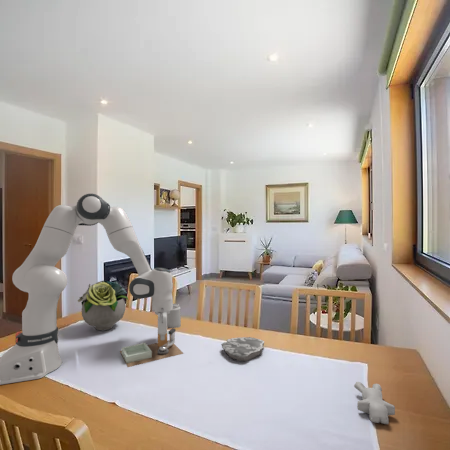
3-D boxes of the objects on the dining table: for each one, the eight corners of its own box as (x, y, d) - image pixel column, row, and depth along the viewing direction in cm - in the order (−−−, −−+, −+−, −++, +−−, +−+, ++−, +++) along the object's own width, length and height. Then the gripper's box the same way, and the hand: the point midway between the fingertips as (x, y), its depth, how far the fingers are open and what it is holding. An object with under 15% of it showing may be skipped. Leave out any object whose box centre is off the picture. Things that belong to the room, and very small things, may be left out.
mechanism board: (127, 371, 108) (127, 364, 108) (119, 354, 122) (119, 348, 122) (183, 357, 119) (183, 350, 119) (170, 343, 133) (170, 337, 133)
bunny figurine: (361, 409, 78) (351, 375, 93) (361, 427, 79) (350, 390, 94) (400, 414, 76) (383, 378, 91) (400, 432, 77) (383, 393, 91)
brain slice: (235, 340, 136) (235, 333, 136) (269, 348, 128) (269, 341, 128) (212, 357, 119) (212, 349, 119) (250, 367, 111) (249, 359, 111)
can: (173, 331, 147) (172, 307, 147) (163, 328, 152) (162, 305, 152) (183, 327, 153) (183, 304, 153) (173, 324, 158) (173, 302, 158)
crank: (164, 352, 118) (164, 338, 118) (157, 351, 119) (157, 337, 119) (177, 341, 128) (177, 328, 128) (171, 340, 129) (171, 328, 129)
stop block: (167, 345, 126) (167, 329, 126) (157, 346, 125) (157, 330, 125) (167, 342, 130) (167, 326, 130) (158, 343, 129) (157, 327, 129)
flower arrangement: (78, 324, 159) (77, 279, 159) (126, 317, 170) (126, 275, 170) (76, 340, 137) (76, 288, 137) (132, 331, 147) (131, 283, 147)
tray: (126, 363, 111) (126, 356, 111) (121, 353, 119) (121, 347, 119) (151, 357, 116) (151, 351, 116) (145, 348, 124) (145, 342, 124)
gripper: (170, 311, 118) (170, 346, 118) (169, 299, 138) (169, 328, 138) (154, 312, 116) (154, 347, 117) (155, 300, 137) (155, 329, 137)
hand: (162, 337), depth 127 cm, fingers closed on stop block, 4 cm apart
